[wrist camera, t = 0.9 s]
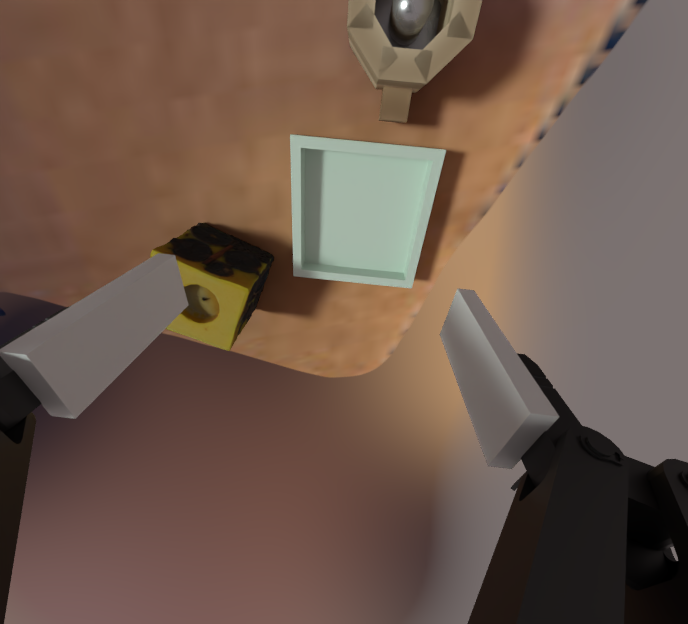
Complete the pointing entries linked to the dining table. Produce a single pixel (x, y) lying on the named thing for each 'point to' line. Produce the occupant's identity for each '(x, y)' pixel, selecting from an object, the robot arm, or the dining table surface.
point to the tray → (360, 208)
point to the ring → (407, 52)
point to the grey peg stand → (408, 21)
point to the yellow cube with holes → (216, 283)
